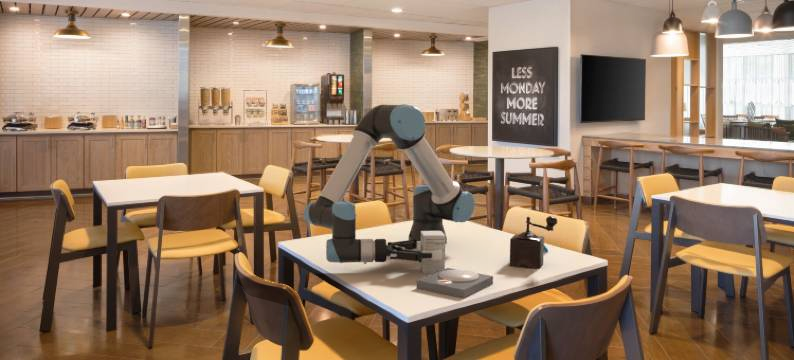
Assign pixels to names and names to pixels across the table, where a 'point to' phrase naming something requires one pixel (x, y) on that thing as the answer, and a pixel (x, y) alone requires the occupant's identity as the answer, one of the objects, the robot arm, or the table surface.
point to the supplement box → (430, 243)
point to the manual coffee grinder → (529, 246)
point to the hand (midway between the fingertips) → (439, 249)
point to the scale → (455, 282)
